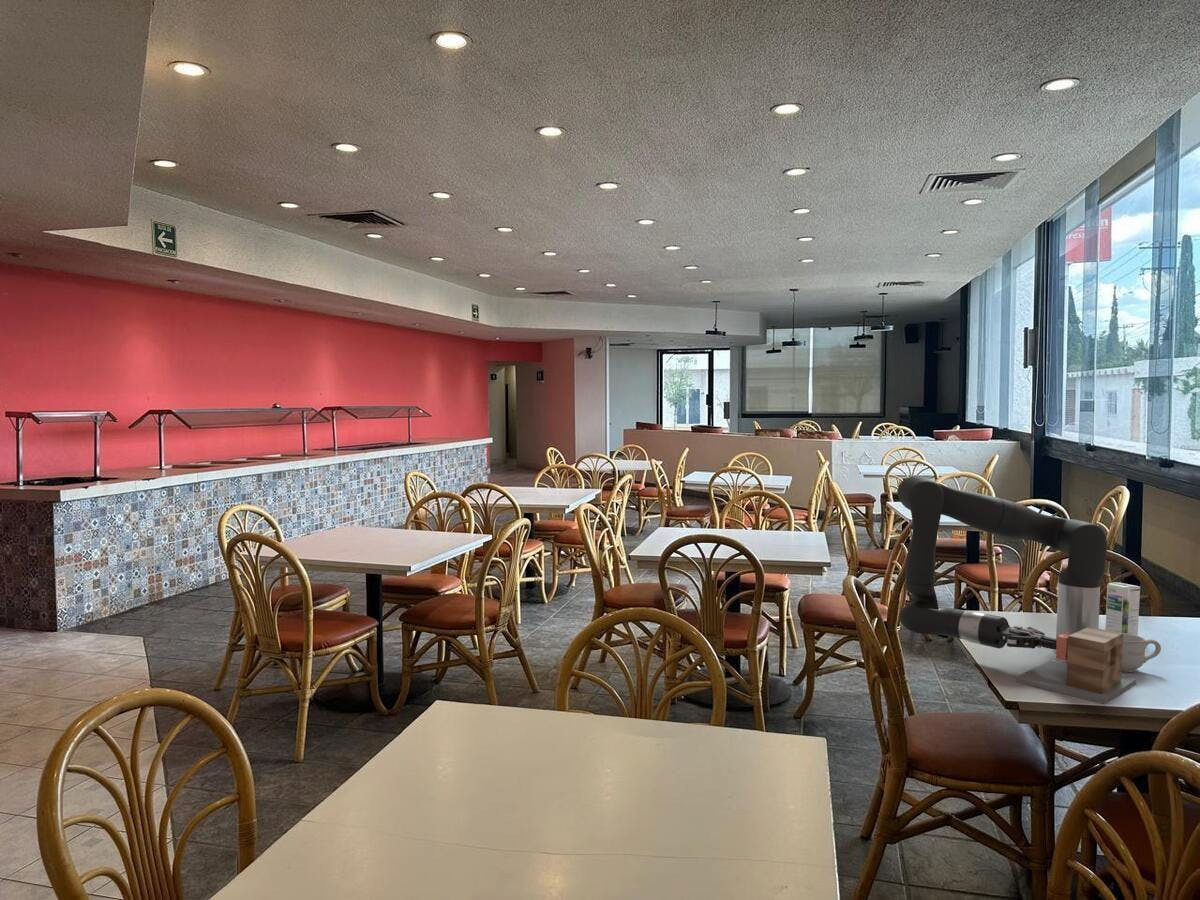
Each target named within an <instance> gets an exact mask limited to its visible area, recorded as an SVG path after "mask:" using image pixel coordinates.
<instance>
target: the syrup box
mask: <svg viewBox="0 0 1200 900" xmlns="http://www.w3.org/2000/svg"><path fill="white" fill-rule="evenodd" d="M1106 585H1107V587H1106V607H1105V625H1104V626H1105V627H1104V628H1105V629H1104V630H1108V631H1113V632H1118V633H1126V634H1131V635H1136V636H1139V633H1138V631H1139V617H1140V616H1139V615H1140V597H1141V596H1140V594H1141V586H1140V585H1139V586H1138V585H1133V584H1128V583H1124V582H1117V581H1116V582H1110V583H1107V584H1106Z"/></svg>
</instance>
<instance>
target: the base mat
mask: <svg viewBox="0 0 1200 900" xmlns="http://www.w3.org/2000/svg"><path fill="white" fill-rule="evenodd" d="M1066 679H1067V663H1065V662H1059V661H1056V660H1051V659H1049V660H1047V661H1045V662H1042V663H1041V664H1040V665H1038V666H1036V667H1033V668H1031V669H1029V670H1027V671H1025V672H1023V673H1021V674H1019V675H1017V676H1015V677H1014V681H1015V682H1016V683H1020V684H1023V685H1026V686H1027V685H1028V686H1031V687H1035V688H1040V689H1043V690H1047V691H1050V690H1052V691H1051V692H1054V691H1056V692H1055V693H1058V692H1061V693H1060V694H1062V693H1065V694H1064V695H1066V694H1069V695H1068V696H1070V695H1073V696H1072V697H1074V696H1077V697H1076V698H1078V697H1081V698H1080V699H1082V698H1085V699H1084V700H1086V699H1089V700H1088V701H1090V700H1093V701H1092V702H1094V701H1096V702H1095V703H1098V702H1100V703H1099V704H1102V703H1103V704H1104V705H1105V704H1107V703H1110V701H1112V700H1113V699H1115V698H1116V697H1118V696H1120V695H1121V694H1122V693H1124V692H1125V691H1127V690H1128V689H1131V688H1132V687H1133V686H1135V685H1136V684H1137V679H1135V678H1132V677H1128V676H1123V675H1121V683H1119V684H1118V685H1116V686H1114V687H1113V688H1111V689H1110V690H1108V691H1106V692H1105V693H1103V694H1099V693H1095V692H1091V691H1087V690H1082V689H1078V688H1074V687H1070V686H1066ZM1015 682H1014V683H1015Z"/></svg>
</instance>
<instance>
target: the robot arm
mask: <svg viewBox="0 0 1200 900" xmlns="http://www.w3.org/2000/svg"><path fill="white" fill-rule="evenodd" d="M896 493H897V497H898V500H899V501H900V503H901V504H902V506H903V507H904V508H906V509H907V510H909V511H910V513H911V514H910V515H911V521H912V532H911V533H912V534H911V541H910V544H909V547H908V549H907V552H906V553H907V554H906V558H905V568H904V571H905V572H904V573H905V574H904V576H905V578H904V579H905V580H904V585H905V590H906V591H907V592H908V593H909V594H911V596H912V597H911V598H912V602H911V603H909V604H906V605H905V606H904V607H903V608H902V609H901V610H900V612H899V614H898V615H899V616H898V617H899V621H900V624H901V625H902V627H904V628H905V629H906V630H907V631H910V632H912V633H915V634H919V635H920V634H921V635H931V636H932V635H933V636H940V635H942V636H948V637H951V638H954V639H955V638H956V639H959V640H963V641H967V642H970V643H972V644H975V645H976V644H977V645H982V646H986V647H990V648H994V649H999V650H1000V649H1002V648H1004V647H1005V646H1006V647H1008V648H1020V649H1021V648H1022V649H1023V648H1025V649H1031V650H1032V649H1036V648H1038V649H1039V648H1041V649H1042V648H1044V649H1050V650H1054V651H1056V642H1057V636H1059V635H1061V634H1063V633H1070V634H1074V633H1076V632H1078V631H1080V630H1082V629H1084V628H1087V627H1092V628H1097V629H1100V628H1099V625H1100V624H1099V623H1100V622H1099V621H1100V600H1101V598H1100V597H1101V595H1100V594H1101V582H1102V578H1103V577H1104V575H1105V572H1106V562H1107V551H1108V541H1107V540H1108V539H1107V535H1106V533H1105V531H1104V530H1103V528H1102V527H1100V526H1099V525H1097V524H1095V523H1093V522H1092V523H1091V522H1088V521H1083V520H1078V519H1072V518H1071V519H1070V518H1064V517H1058V516H1052V515H1047V514H1043V513H1040V512H1038V511H1035V510H1033V509H1031V508H1029V507H1027V506H1025V505H1023V504H1020V503H1018V502H1014V501H1011V500H1008V499H1005V498H1000V497H996V496H991V495H988V494H983V493H978V492H973V491H967V490H961V489H957V488H953V487H949V486H947V485H944V484H941V483H939V482H937V481H934V480H932V479H930V478H928V477H925V476H921V475H912V476H908V477H906V478H904V479H903V480H902V481H901V482H900V483H899V485H898V487H897V492H896ZM942 516H946V517H949V518H951V519H953V520H956V521H957V522H960V523H963V524H965V525H967V526H969V527H972V528H975V529H976V530H980V531H983V532H986V533H988V534H993V535H996V536H1000V537H1003V538H1008V539H1009V538H1010V539H1015V540H1023V541H1031V542H1036V543H1040V544H1042V545H1044V546H1047V547H1050V548H1052V549H1055V550H1057V551H1059V552H1061V553H1063V554H1066V555H1067V556H1068V558H1067V559H1068V560H1067V564H1066V565H1067V566H1066V567H1065V568H1064V569H1062V570H1059V572H1058V577H1057V579H1058V582H1057V585H1058V586H1057V603H1056V605H1057V608H1056V629H1055V630H1056V631H1055V632H1056V633H1055V637H1049V636H1046V633H1044V632H1043V631H1040V630H1038V629H1036V628H1034V627H1031V626H1027V627H1026V628H1024V627H1023V626H1020V625H1014V626H1011V625H1010V624H1009V621H1008V620H1007V618H1006V617H1004V616H999V615H996V614H995V615H994V614H989V613H983V612H978V611H968V610H962V609H958V608H953V607H945V608H941V609H940V608H939V602H938V598H937V593H936V590H935V581H936V580H935V577H936V551H937V550H936V549H937V542H938V536H939V535H938V534H939V529H940V528H939V527H940V522H941V517H942Z"/></svg>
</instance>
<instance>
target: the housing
mask: <svg viewBox="0 0 1200 900" xmlns="http://www.w3.org/2000/svg"><path fill="white" fill-rule="evenodd" d="M1122 649H1123V633H1118V632H1113V631H1108V630H1105V629H1102V628H1098V629H1097V628H1092V627H1087V628H1084V629H1082V630H1080V631H1078V632H1076V633H1074V634H1071V635H1069V636H1068V655H1067V660H1066V664H1067V679H1066V686H1070V687H1074V688H1078V689H1082V690H1087V691H1091V692H1095V693H1099V694H1103V693H1105V692H1106V691H1108V690H1110V689H1111V688H1113V687H1114V686H1116V685H1118V684H1119V683H1121V676H1122V672H1123V671H1122Z"/></svg>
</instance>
